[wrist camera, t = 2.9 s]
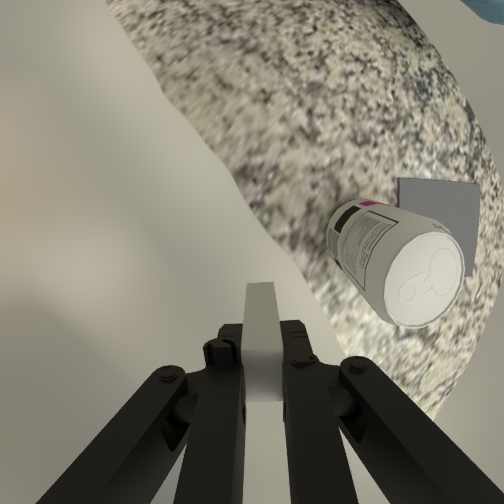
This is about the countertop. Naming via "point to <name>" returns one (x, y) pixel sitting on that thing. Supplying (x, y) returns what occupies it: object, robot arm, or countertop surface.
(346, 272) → the supplement can
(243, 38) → the countertop surface
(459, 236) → the mat
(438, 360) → the countertop surface
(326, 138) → the countertop surface
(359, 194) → the countertop surface
